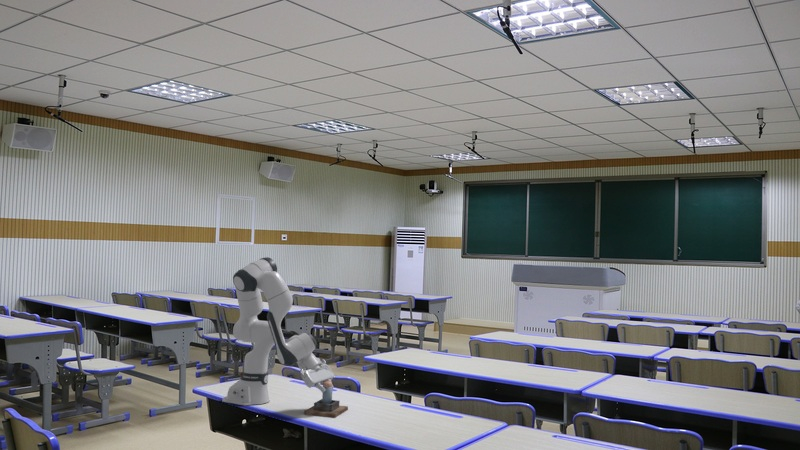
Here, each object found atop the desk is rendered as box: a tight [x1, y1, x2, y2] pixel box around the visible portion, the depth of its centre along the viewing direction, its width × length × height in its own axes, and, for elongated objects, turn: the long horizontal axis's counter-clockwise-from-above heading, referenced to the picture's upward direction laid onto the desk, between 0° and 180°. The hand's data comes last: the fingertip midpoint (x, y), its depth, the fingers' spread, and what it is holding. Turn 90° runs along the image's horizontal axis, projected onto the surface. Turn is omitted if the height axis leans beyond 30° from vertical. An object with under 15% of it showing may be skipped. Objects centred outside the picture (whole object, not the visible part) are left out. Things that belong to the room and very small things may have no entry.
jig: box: [304, 398, 349, 419], centre depth 282 cm, size 15×15×4 cm
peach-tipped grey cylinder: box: [321, 381, 334, 404], centre depth 283 cm, size 4×4×12 cm
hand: (328, 390), depth 283 cm, fingers open, 5 cm apart
